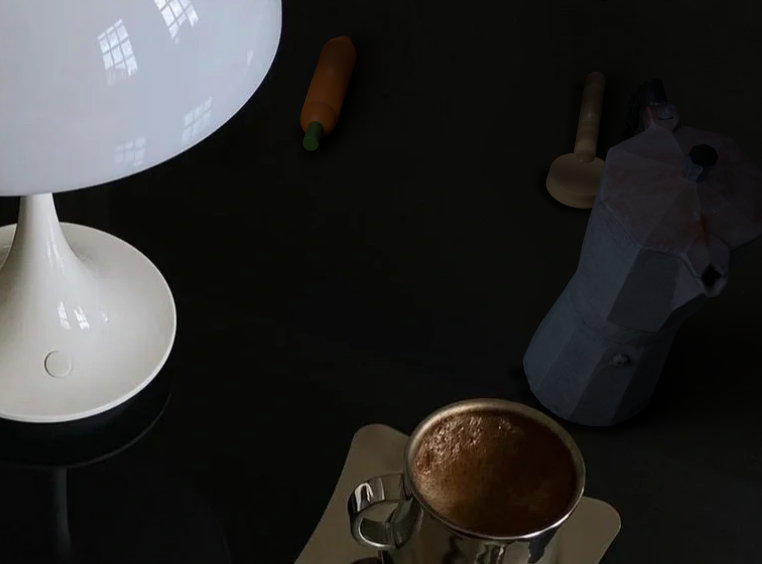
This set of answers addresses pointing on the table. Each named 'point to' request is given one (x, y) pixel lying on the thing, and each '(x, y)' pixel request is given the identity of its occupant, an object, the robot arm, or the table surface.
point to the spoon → (581, 152)
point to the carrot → (327, 90)
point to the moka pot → (644, 262)
